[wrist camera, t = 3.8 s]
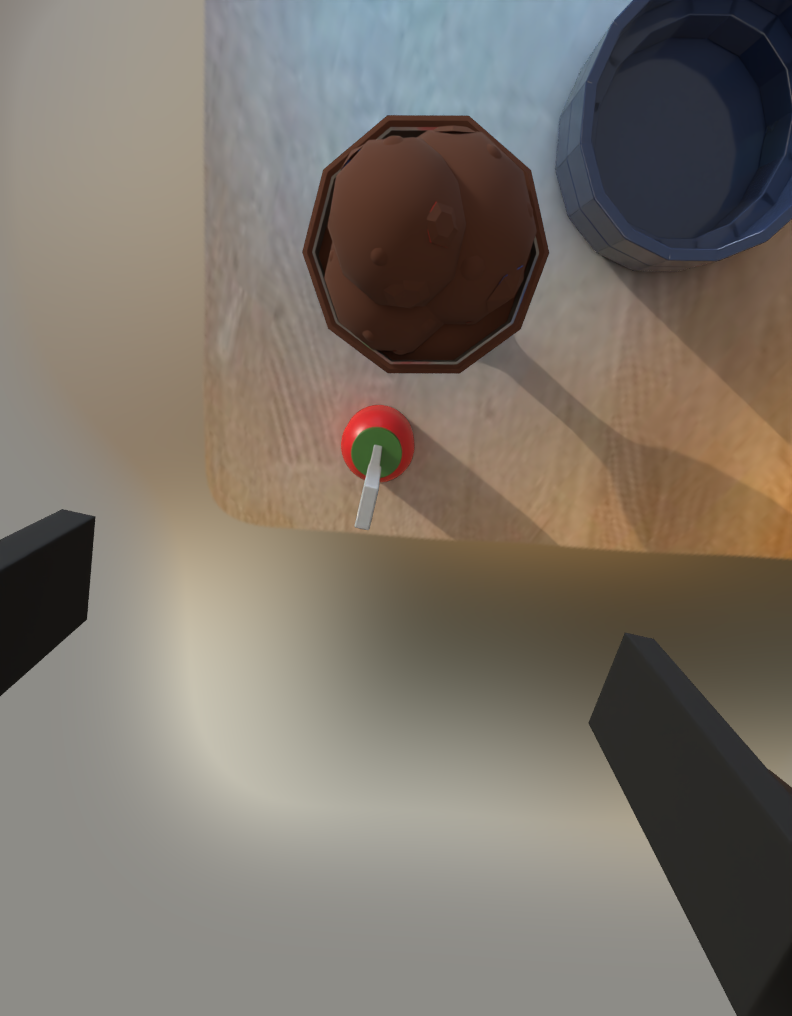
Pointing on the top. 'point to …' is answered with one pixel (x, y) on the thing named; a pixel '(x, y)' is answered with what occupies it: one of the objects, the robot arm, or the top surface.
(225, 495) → the top surface
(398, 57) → the top surface
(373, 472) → the red candy apple
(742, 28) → the dessert bowl
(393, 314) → the ice cream bowl
